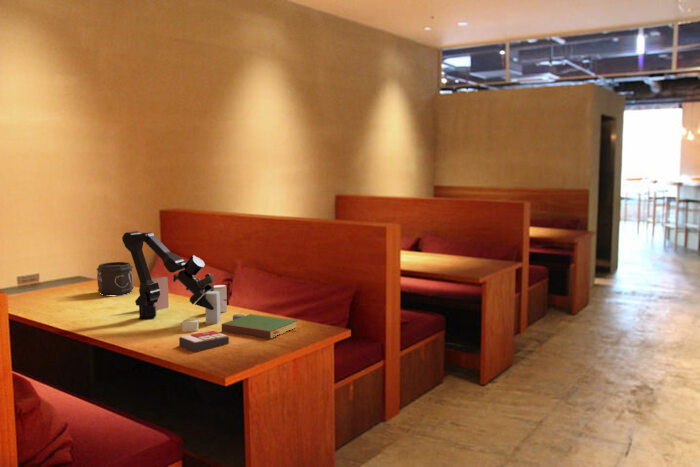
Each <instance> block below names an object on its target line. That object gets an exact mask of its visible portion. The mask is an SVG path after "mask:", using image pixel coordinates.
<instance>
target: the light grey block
mask: <svg viewBox="0 0 700 467" xmlns="http://www.w3.org/2000/svg"><path fill="white" fill-rule="evenodd" d="M205 294H206V299H207V300H208V301H209V302H210V304H211V305H212V306H213V308H214V309H213V310H210V309H207V308H205V324H219V323H220V322H221V312H220V291H208V292H207V293H205Z"/></svg>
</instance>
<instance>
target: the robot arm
mask: <svg viewBox="0 0 700 467" xmlns="http://www.w3.org/2000/svg"><path fill="white" fill-rule="evenodd" d="M121 240H122V242H123V245H124V247H125V249H126V250H127V251H128V252H130V254H131V258H132V261H133V264H134V267H135V270H136V273H137V277H138V280H139V289H138V291H139V296H138V297H137V298H136V299H135V301H134V303H135V306H137V307H138V312H139V313H138V315H139V317H138V320H152V319H155V317H156V316H157V310H156V306H155V303H156V302H157V301H158V298H159V296H160V291H161V290H160V289H159V285H158V283H154V282H153V281H152V279H151V278H152V277H151V276H152V275H151V273H150V271H149V270H150V269H149V266H148V264H147V261H146V257H145V254H144V251H143V248H144V243H145V244H146V245H147V246H148V247H149V248H150V249H151V250H152V251H153V252H154V254H156V255H157V256H158V257H159V258H160V259H161V260H162V263H163V266H164V268H165V269H166V270H167V271H168V272H169V273H175V274H174V275H172V278H173V279H172V280H173V281H172V282H174V283H175V282H177V281H179V282H180V283H181V284H182V285H183V286H184V287H185V290H186V291H189V292H190V293H192V295H191V296H190V297H189V303H191V305H195V306H199V307H201V308H205V309H206V308H207V309H210V310H213V309H214V308H213V306H212V305H211V304H210V302H209V301H208V300H207V299H206V294H205V293H207V292H208V291H214V288H213V287H214V286H215V285H213V283H214V282H215V281H216V280H215V276H214V275H213V274H211V273H210V272H208V273H207V274H205V275H204V278H200V277H195V276H197V275H198V274H199V272H200V271H201V270H202V269H203V268H204V267H205V265H206V264H205V261H204V260H203V259H201V258H200V257H198V256H196V255H194V254H193V255H191V256H190V257H189V259H188V260H184V258H182V257H181V256H180V255H178V254H176V253H173V252H172V251H170V249H168V247H166V246H165V245H164V243H163V242H161V240H159V239H158V237H156V235H155V233H154V232H152V231H148V232H140V231H139V230H133V231H127V232H125V233H124V234H123V235H122V237H121ZM177 272H178V273H177ZM176 273H177V274H176Z"/></svg>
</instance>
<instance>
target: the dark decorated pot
mask: <svg viewBox="0 0 700 467" xmlns="http://www.w3.org/2000/svg"><path fill="white" fill-rule="evenodd" d="M133 268H134V267H133V265H132V264H131V263H130V262H128V261H127V262H125V261H114V262H113V261H112V262H110V261H109V262H105V263H101V264H99V265H98V267H97V268H96V271H97V274H96V275H97V276H96V277H97V278H96V280H97V288H98V289H97V292H98V293H99V294H100V293H101V294H103V295H121V296H124V295H123V294H126V295H128V294H127V293H129V294H131V293H132V292H133V290H134V287H135V286H133V285H134V277H133V276H134V275H133V274H134V273H133ZM130 292H131V293H130ZM103 295H102V296H103Z"/></svg>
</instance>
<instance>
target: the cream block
mask: <svg viewBox="0 0 700 467" xmlns="http://www.w3.org/2000/svg"><path fill="white" fill-rule="evenodd" d="M199 321H200V320H199V319H198V318H197V319H196V318H195V319H183V320H182V321H181V325H182V328H181V329H182V330H181V331H182V332H184V333H185V332H198V331H199V329H200V325H199V323H200V322H199Z"/></svg>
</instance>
